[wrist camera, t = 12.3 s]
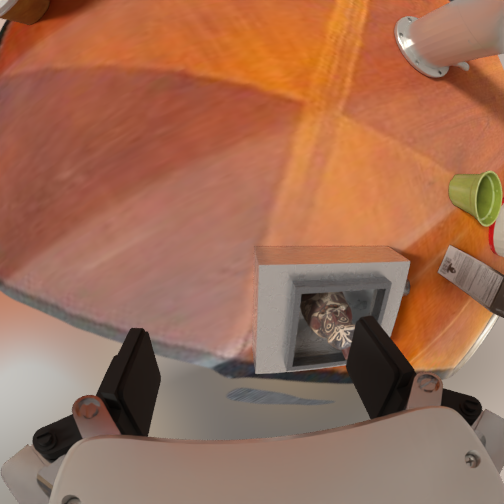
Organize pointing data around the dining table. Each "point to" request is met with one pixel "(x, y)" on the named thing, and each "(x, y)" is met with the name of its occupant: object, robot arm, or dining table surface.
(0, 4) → the disposable coffee cup
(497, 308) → the coffee box
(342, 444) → the robot arm
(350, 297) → the grey box with knob
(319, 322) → the figurine
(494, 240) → the kitchen timer
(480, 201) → the plant pot
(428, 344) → the dining table surface
